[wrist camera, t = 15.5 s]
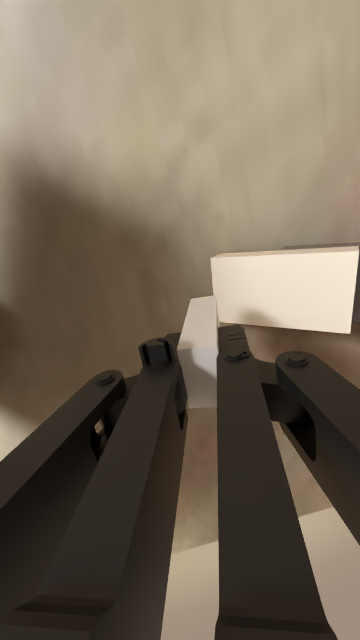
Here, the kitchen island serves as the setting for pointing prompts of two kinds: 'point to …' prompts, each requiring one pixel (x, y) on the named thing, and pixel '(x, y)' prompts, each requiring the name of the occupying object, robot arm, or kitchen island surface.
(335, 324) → the domino ivory
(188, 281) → the kitchen island surface
